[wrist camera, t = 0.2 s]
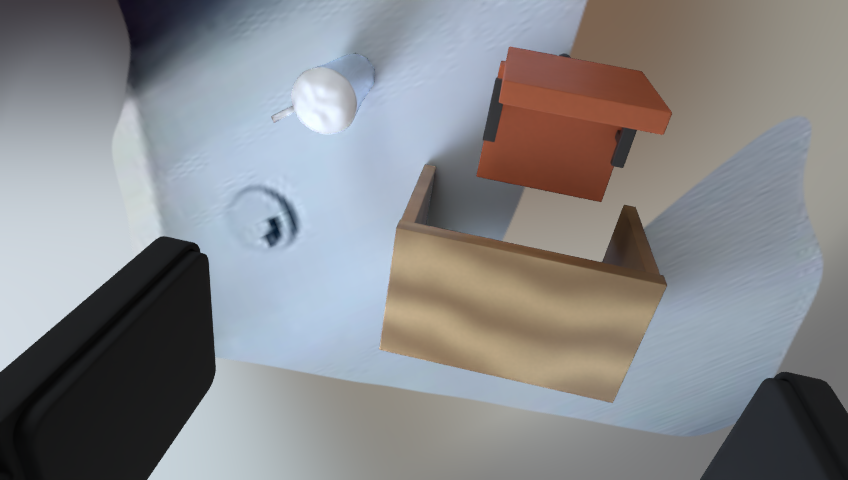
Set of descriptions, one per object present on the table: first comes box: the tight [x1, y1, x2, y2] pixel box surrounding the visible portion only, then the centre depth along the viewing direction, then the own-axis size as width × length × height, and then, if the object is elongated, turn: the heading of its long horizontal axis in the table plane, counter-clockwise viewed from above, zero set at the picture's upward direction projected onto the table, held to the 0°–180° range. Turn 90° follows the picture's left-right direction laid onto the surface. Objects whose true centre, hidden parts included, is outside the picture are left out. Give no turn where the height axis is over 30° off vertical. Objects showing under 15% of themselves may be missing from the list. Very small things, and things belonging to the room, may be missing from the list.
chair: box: [476, 47, 672, 202], centre depth 36 cm, size 9×9×15 cm
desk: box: [379, 164, 667, 403], centre depth 44 cm, size 11×18×12 cm, turn 82°
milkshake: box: [271, 53, 375, 134], centre depth 40 cm, size 4×5×10 cm
